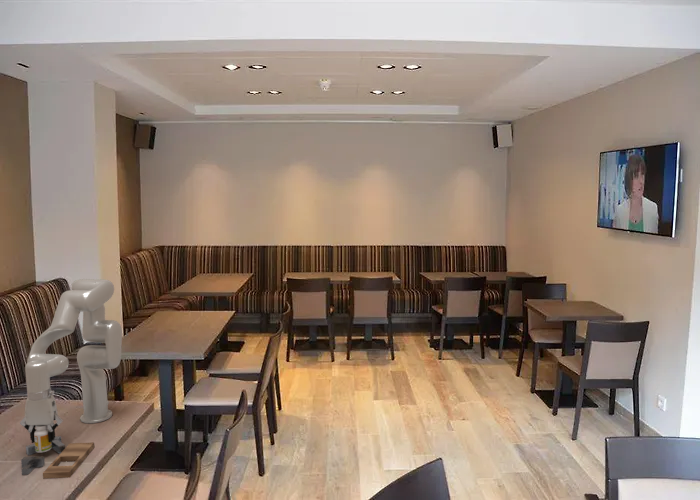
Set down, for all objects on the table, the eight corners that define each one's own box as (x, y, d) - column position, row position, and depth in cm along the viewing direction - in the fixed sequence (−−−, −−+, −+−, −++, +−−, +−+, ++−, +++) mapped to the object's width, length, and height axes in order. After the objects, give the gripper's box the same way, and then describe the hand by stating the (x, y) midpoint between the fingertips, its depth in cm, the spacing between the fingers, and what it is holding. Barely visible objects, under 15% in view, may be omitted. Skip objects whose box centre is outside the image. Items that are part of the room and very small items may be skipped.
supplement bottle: (54, 446, 217) (52, 421, 216) (47, 452, 212) (45, 427, 211) (39, 446, 217) (37, 421, 216) (32, 453, 212) (30, 427, 210)
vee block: (36, 444, 223) (35, 437, 223) (73, 443, 224) (73, 435, 223) (24, 455, 214) (23, 448, 214) (63, 454, 215) (63, 446, 215)
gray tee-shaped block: (24, 464, 207) (23, 457, 207) (44, 464, 208) (44, 456, 207) (14, 475, 200) (13, 466, 200) (35, 474, 201) (34, 466, 200)
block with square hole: (70, 448, 220) (69, 443, 219) (94, 447, 220) (94, 442, 220) (43, 478, 198) (42, 473, 198) (70, 477, 198) (69, 471, 198)
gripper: (67, 389, 216) (71, 435, 218) (20, 391, 215) (24, 437, 217) (58, 397, 208) (62, 444, 211) (9, 398, 207) (14, 446, 210)
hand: (43, 440), depth 214 cm, fingers closed on supplement bottle, 5 cm apart
